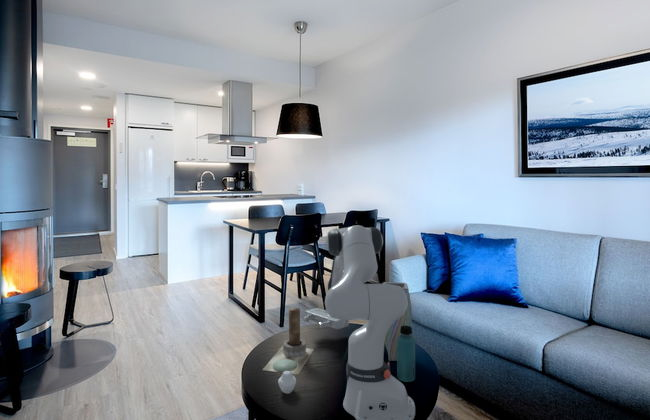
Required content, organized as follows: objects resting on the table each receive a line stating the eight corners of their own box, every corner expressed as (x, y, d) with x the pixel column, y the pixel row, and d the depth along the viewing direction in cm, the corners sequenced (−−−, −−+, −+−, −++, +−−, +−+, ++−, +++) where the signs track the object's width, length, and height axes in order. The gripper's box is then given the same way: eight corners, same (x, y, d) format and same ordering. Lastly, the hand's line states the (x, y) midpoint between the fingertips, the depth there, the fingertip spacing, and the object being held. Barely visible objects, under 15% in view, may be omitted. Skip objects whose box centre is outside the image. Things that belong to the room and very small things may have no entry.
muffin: (289, 384, 133) (288, 365, 132) (300, 391, 128) (299, 371, 128) (274, 390, 128) (274, 371, 128) (285, 398, 124) (285, 377, 123)
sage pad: (299, 361, 146) (299, 360, 146) (292, 372, 138) (292, 371, 138) (277, 359, 149) (277, 358, 148) (269, 370, 140) (269, 368, 140)
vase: (413, 366, 146) (414, 290, 144) (378, 364, 147) (378, 289, 145) (409, 351, 159) (410, 281, 157) (377, 349, 161) (378, 280, 159)
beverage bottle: (415, 387, 131) (416, 331, 129) (396, 385, 132) (396, 329, 131) (414, 378, 137) (415, 324, 136) (396, 376, 138) (397, 322, 137)
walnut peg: (301, 350, 156) (301, 308, 155) (298, 355, 152) (297, 311, 151) (291, 349, 157) (290, 307, 156) (287, 354, 153) (287, 310, 152)
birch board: (314, 352, 158) (314, 339, 158) (298, 378, 137) (298, 363, 136) (282, 349, 161) (282, 336, 161) (262, 373, 140) (262, 359, 140)
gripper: (317, 303, 178) (296, 310, 168) (351, 313, 164) (329, 321, 154) (318, 316, 179) (296, 323, 169) (351, 327, 164) (329, 336, 155)
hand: (312, 322), depth 161 cm, fingers open, 8 cm apart
